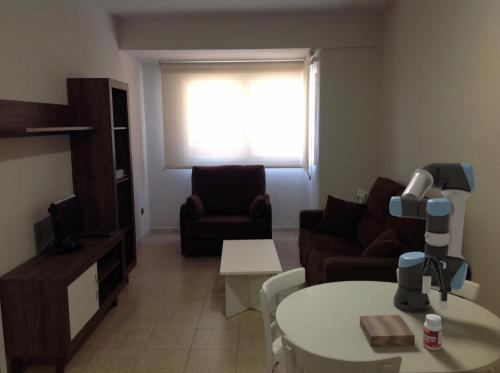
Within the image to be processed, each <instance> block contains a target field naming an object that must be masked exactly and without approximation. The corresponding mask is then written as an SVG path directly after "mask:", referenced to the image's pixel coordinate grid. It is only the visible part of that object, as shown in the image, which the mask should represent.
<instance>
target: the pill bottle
mask: <svg viewBox="0 0 500 373" xmlns="http://www.w3.org/2000/svg"><path fill="white" fill-rule="evenodd" d="M422 335H423V337H422V338H423V340H422V344H423V345H422V346H423V347H424V348H426V349H428V350H430V351H438V350H440V349H441V348H442V339H443V338H442V337H443V325H442V317H441V316H440V315H437V314H435V313H429V314H426V315H425V322H424V323H423V334H422Z"/></svg>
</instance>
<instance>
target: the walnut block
mask: <svg viewBox="0 0 500 373" xmlns="http://www.w3.org/2000/svg"><path fill="white" fill-rule="evenodd" d="M359 326H360V329H361V330H363V331H362V332H363V335H364V336H365V338H366V340H367V342H368V344H369V346H370V347H396V346H399V347H401V346H415V345H416V344H415V341H416V334H415V333H414V332H413V330H412V329H411V327H410V326H409V325H408V324H407V322H406V321H405V320H404V317H402V316H401V314H389V315H387V314H386V315H384V314H383V315H359Z"/></svg>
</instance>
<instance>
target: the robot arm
mask: <svg viewBox="0 0 500 373" xmlns="http://www.w3.org/2000/svg"><path fill="white" fill-rule="evenodd" d="M409 179H410V180H409V184H407V186H406V188H405V189H404V191H403V193H402V194H401V195H399V196H398V195H397V196H392V197H391V198H390V201H389V213H390V215H392V216H393V217H394V216H395V217H398V218H409V219H410V218H412V219H421V220H425V233H424V238H425V244H424V252H422V251H410V252H405V253H403V254H401V255H399V257H398V258H399V259H398V277H397V278H398V279H397V282H398V284H397V289H396V291H395V293H394V296H393V302H392V303H393V306H395V308H397V309H398V310H402V311H404V312H409V313H424V312H427V311H428V310H430V309H431V300H430V297H429V294H431V289H432V288H431V287H433V288H439V290H438V296H437V297H438V299H437V300H438V301H437V302H438V303H437V309H438V310H443V311H444V310H447V309H448V297H449V296H448V295H449V293H452V291H461V290H463V287H464V284H465V281H466V278H467V273H468V267H469V265H468V263H467V262H465V257H464V256H463V255H462V245H463V236H464V235H463V233H464V223H465V212H466V202H467V199H468V198H469V197H470V196H471V193H472V192H475V190H476V189H475V187H476V186H475V184H476V182H475V171H474V166H473V165H472V164H470V163H463V162H436V161H435V162H429V163H426V164H424V165H422V166H420V167H418V168H417V169H415V170H414V172H412V174H411V176H410V178H409ZM430 189H438V190H440V193H441V195H442V197H441V198H439V197H438V198H436V197H434V198H424V197H425V195H426V192H427V191H428V190H430Z"/></svg>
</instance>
